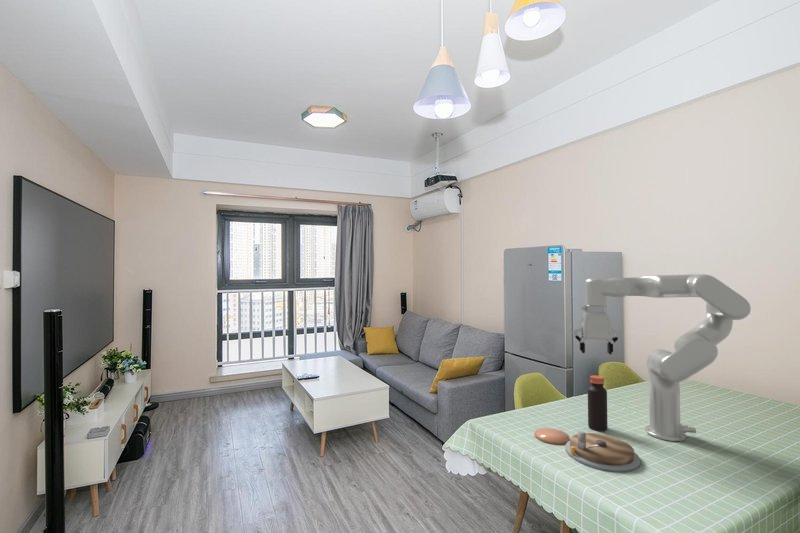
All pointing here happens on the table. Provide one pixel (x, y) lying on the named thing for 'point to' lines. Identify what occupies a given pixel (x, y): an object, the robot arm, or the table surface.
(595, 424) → the vinegar
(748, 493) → the table surface
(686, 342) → the robot arm
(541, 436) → the peach dome
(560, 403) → the table surface
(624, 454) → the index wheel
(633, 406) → the table surface
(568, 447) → the wheel base
